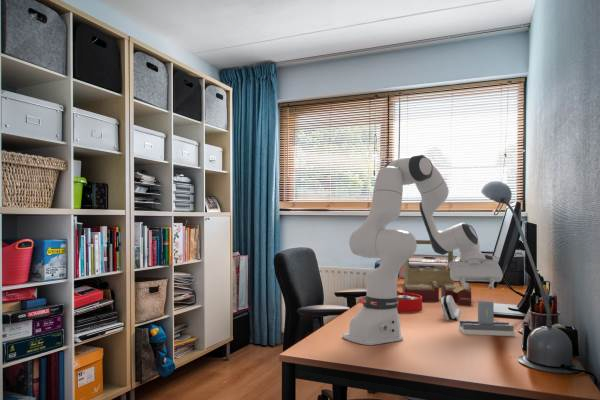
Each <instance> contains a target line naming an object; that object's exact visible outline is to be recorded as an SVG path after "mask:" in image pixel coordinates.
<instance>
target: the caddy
mask: <svg viewBox="0 0 600 400" xmlns="http://www.w3.org/2000/svg"><path fill="white" fill-rule="evenodd" d="M416 244H417V245H431V242H430V239H429V240H427V239H416ZM451 261H454V250H453V251H451V252H449V253H447V264H448V263H449V262H451ZM403 278H404V279H403V280H404V281H403V282H404V283H403V284H405V285H409V284H410V285H409V287H410V286H411V287H413V284H414V285H415V286H416V285H419V284H423V285H424V284H425V285H429V283H430V282H431V281H432V282H433V281H435V282H436V281H437V283H438V285H439V287H441V286H442V285H443V284H444V285H445V284H446V285H447V284H448V285H449V284H450V285H449V286H451V285H452V286H453V287H454V286H455V285H454V284H455V281H454V280H452V279H451V277H450V269H449V267H448V266H447V268H424V267H423V268H418V267H417V268H416V267H415V268H414V267H413V268H412V267H410V259H408V260H407V261H406V262H405V263H404V277H403ZM411 284H412V285H411ZM433 284H434V283H433ZM446 285H445V287H447V286H446ZM415 286H414V287H415ZM452 286H451V287H452Z"/></svg>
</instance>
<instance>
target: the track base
mask: <svg viewBox="0 0 600 400" xmlns="http://www.w3.org/2000/svg"><path fill="white" fill-rule="evenodd" d="M458 322H459V324H458V329H459V331H460V332H461V333H462V334H464V335H472V336H473V335H478V336H501V337H503V336H504V337H506V336H507V337H515V335H516V334H515V333H516V332H515V331H514V330H515V329H514V325H512V324H510V322H508V321H494V324H478V320H465V319H464V320H462V319H461V320H460V319H459V321H458Z"/></svg>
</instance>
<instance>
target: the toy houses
mask: <svg viewBox="0 0 600 400" xmlns="http://www.w3.org/2000/svg"><path fill="white" fill-rule="evenodd" d="M433 283H434V284H433ZM409 285H410V284H409ZM409 285H406V284H405V283H403V285H402V291H399V290H398V289H397V292H404V293H413V294H417V295H420V296H422V302H439V301H440V299H441V298H442V297H444V296H446V297H447V296H448V295H451V296H452V297H453V299H454V302H455V304H456V305H459V306H471V305H472V294H473V292H472V288H471V286H470V285H469V289H465V287H464V285H463V284H455V283H454V287H453V286H452V285H451V286H452V287H451V286H449V285H450V284H449V285H448V284H447V285H446V284H445V285H446V286H445V285H444V284H443V285H442V286H439V285H438V283H437V281H436V282H435V281H433V282H432V281H431V282H430V283H429V285H425V284H424V285H423V284H419V285H416V286H415V285H414V284H413V286H409ZM411 285H412V284H411ZM440 287H441V288H440ZM440 290H441V292H440ZM440 293H441V294H440ZM440 295H441V298H440Z"/></svg>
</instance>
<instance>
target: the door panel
mask: <svg viewBox="0 0 600 400" xmlns="http://www.w3.org/2000/svg"><path fill="white" fill-rule="evenodd" d="M494 313H495V312H494V302H493V301H487V300H486V301H485V300H484V301H483V300H478V301H477V321H478V324H494V322H495V319H494V315H495V314H494Z"/></svg>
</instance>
